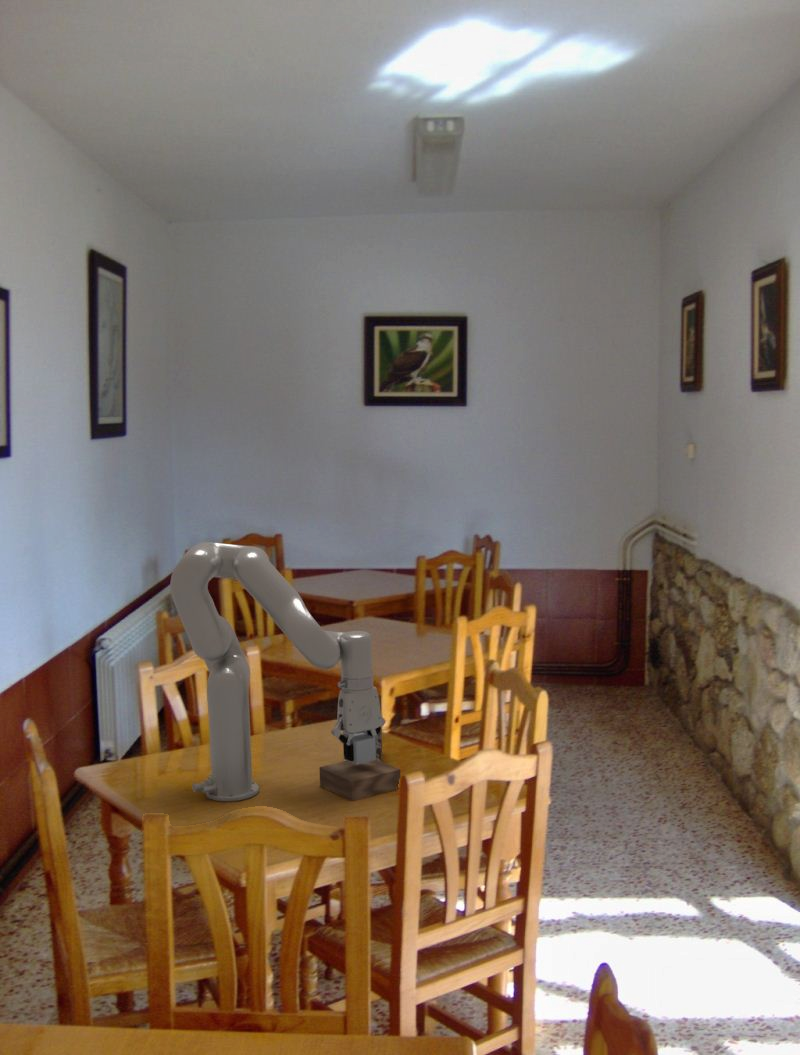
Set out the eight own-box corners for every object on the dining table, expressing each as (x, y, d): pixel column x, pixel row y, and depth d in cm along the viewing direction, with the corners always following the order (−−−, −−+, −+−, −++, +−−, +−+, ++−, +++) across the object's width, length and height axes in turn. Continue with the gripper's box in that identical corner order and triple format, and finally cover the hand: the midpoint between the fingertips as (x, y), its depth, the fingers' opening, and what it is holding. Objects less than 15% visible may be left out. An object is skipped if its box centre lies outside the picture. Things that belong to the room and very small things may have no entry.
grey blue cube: (356, 764, 253) (356, 742, 252) (344, 759, 257) (343, 736, 256) (375, 759, 256) (375, 737, 255) (362, 754, 260) (362, 732, 260)
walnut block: (352, 802, 247) (351, 781, 247) (320, 787, 258) (319, 767, 258) (400, 789, 255) (400, 769, 255) (367, 775, 267) (367, 755, 266)
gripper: (335, 692, 246) (338, 768, 248) (395, 680, 257) (397, 753, 258) (318, 686, 253) (321, 761, 254) (377, 674, 263) (379, 746, 264)
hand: (359, 756), depth 256 cm, fingers closed on grey blue cube, 5 cm apart
